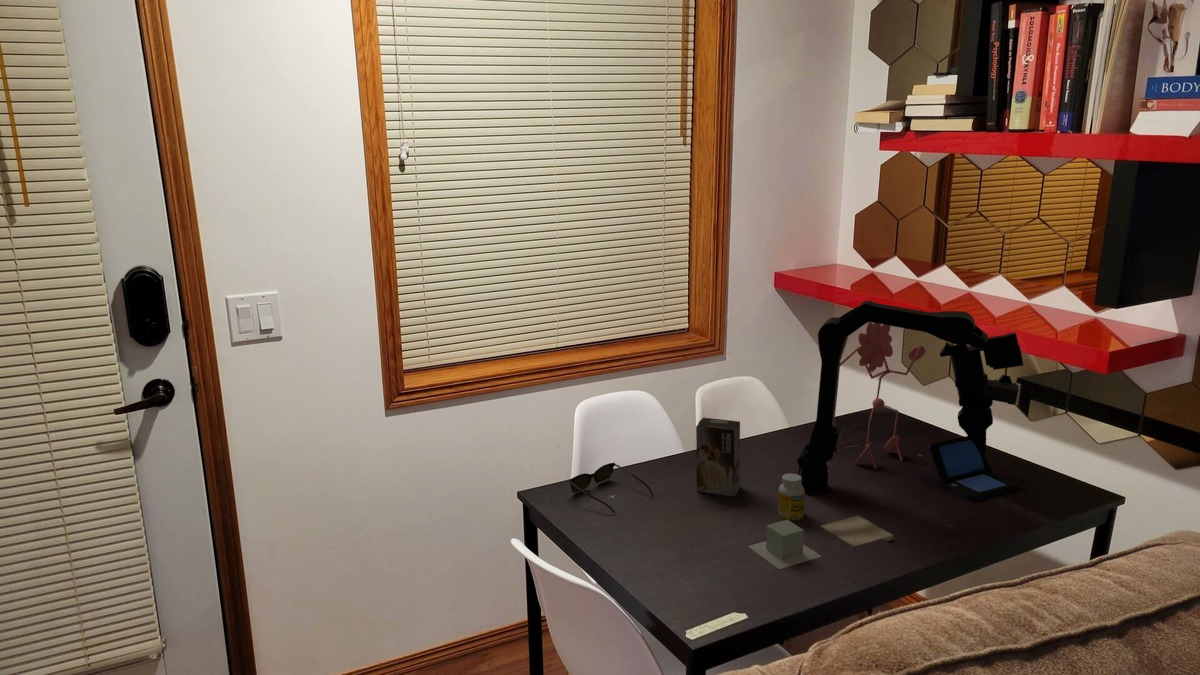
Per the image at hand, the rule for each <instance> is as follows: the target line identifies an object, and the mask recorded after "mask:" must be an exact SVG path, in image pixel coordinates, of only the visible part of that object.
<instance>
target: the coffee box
mask: <svg viewBox="0 0 1200 675" xmlns="http://www.w3.org/2000/svg"><path fill="white" fill-rule="evenodd" d="M695 444H696V445H695V446H696V448H695V449H696V450H695V451H696V452H695V455H696V456H695V458H696V460H695V461H696V465H695V466H696V492H697V491H699V492H698V493H704V492H705V494H712V493H713V495H720V496H727V497H736V495H737V494H738V492H739V490H740V488H741V478H740V476H741V421H737V420H731V419H719V418H711V417H702V418H701V419H700V420H699V421H698V422H697V425H696V426H695Z"/></svg>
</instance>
